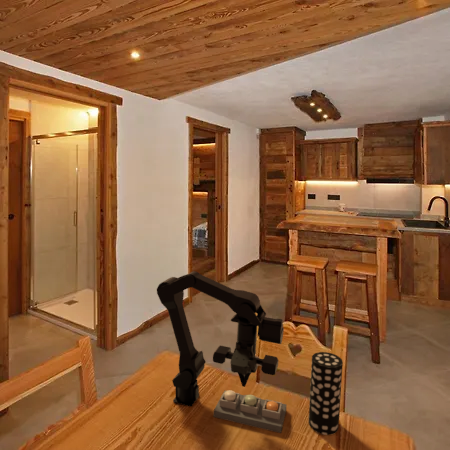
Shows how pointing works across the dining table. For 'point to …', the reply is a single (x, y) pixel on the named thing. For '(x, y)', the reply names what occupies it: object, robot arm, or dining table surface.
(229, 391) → the cream button
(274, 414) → the rack
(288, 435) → the dining table surface
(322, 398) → the spotted tube
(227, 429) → the dining table surface
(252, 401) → the sage button
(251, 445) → the dining table surface
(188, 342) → the robot arm
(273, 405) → the orange button
